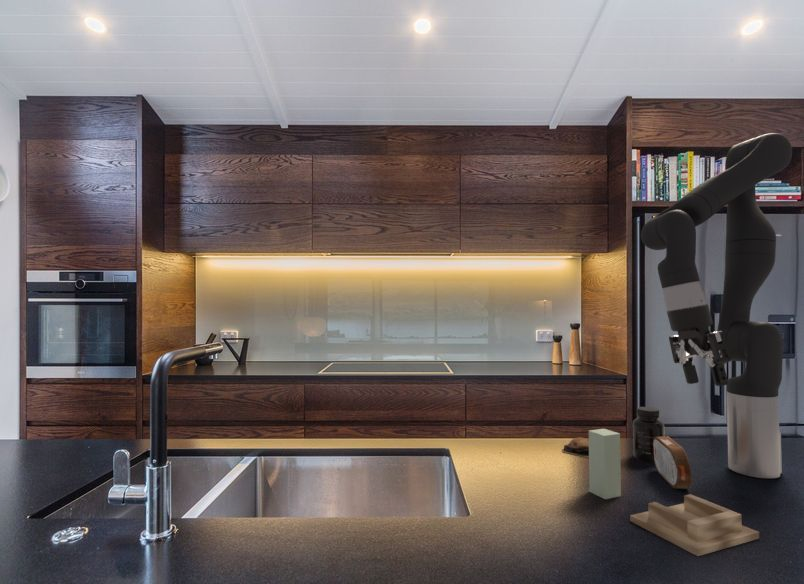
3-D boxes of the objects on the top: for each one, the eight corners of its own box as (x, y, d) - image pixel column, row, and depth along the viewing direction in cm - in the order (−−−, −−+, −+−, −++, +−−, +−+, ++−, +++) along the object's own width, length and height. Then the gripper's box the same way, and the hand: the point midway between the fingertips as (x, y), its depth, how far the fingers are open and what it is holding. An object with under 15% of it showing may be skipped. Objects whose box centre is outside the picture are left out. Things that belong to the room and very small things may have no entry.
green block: (604, 488, 94) (604, 428, 94) (620, 496, 90) (620, 433, 90) (589, 491, 92) (588, 430, 92) (605, 499, 88) (604, 435, 89)
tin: (693, 496, 90) (692, 452, 90) (675, 495, 91) (675, 451, 91) (666, 469, 105) (665, 431, 105) (650, 468, 105) (650, 431, 106)
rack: (687, 507, 85) (687, 488, 85) (759, 538, 73) (758, 516, 74) (630, 521, 79) (630, 500, 79) (697, 556, 68) (697, 532, 68)
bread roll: (591, 462, 111) (591, 446, 112) (558, 454, 117) (557, 439, 117) (608, 451, 119) (608, 437, 119) (576, 444, 125) (576, 430, 125)
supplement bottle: (635, 452, 117) (635, 404, 117) (667, 457, 113) (666, 407, 113) (630, 460, 111) (630, 409, 111) (663, 465, 107) (662, 413, 107)
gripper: (728, 298, 90) (751, 382, 88) (682, 307, 104) (700, 379, 102) (691, 305, 89) (713, 389, 87) (650, 312, 104) (668, 385, 101)
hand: (706, 384), depth 95 cm, fingers open, 8 cm apart
